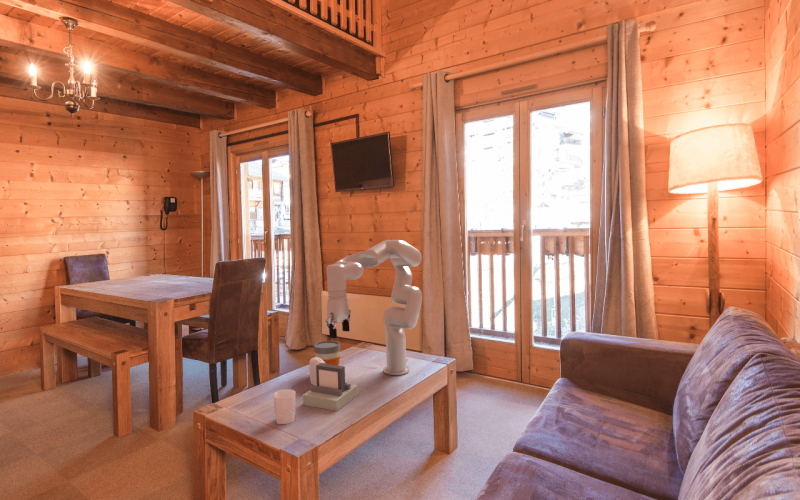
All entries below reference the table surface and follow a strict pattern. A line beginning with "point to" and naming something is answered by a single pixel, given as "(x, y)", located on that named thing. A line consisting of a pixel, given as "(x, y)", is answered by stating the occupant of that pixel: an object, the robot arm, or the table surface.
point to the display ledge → (329, 397)
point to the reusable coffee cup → (328, 352)
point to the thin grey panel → (331, 376)
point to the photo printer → (314, 369)
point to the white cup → (285, 406)
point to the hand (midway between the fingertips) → (339, 334)
